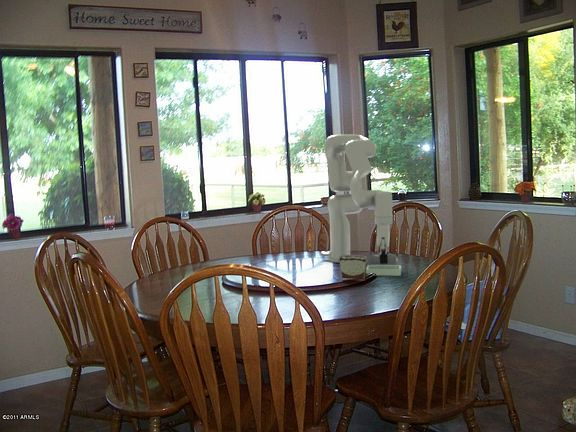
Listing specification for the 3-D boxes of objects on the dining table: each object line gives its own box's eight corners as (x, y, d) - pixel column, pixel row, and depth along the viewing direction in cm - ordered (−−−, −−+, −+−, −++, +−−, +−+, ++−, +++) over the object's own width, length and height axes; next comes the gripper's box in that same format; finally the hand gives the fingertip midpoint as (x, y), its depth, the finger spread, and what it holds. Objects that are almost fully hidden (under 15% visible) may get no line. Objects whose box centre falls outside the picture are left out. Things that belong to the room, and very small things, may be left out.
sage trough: (366, 275, 276) (366, 269, 276) (367, 270, 285) (367, 265, 284) (400, 275, 273) (400, 269, 273) (401, 271, 282) (401, 265, 282)
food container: (370, 278, 269) (370, 254, 268) (367, 281, 263) (367, 257, 262) (342, 277, 273) (341, 253, 272) (338, 280, 267) (337, 256, 266)
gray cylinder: (372, 265, 277) (371, 255, 277) (372, 263, 281) (372, 253, 281) (397, 265, 275) (397, 255, 274) (397, 263, 279) (397, 253, 279)
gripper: (375, 218, 285) (376, 259, 287) (373, 222, 269) (374, 266, 271) (393, 218, 284) (393, 259, 286) (391, 222, 267) (392, 266, 269)
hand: (384, 262), depth 278 cm, fingers closed on gray cylinder, 4 cm apart
